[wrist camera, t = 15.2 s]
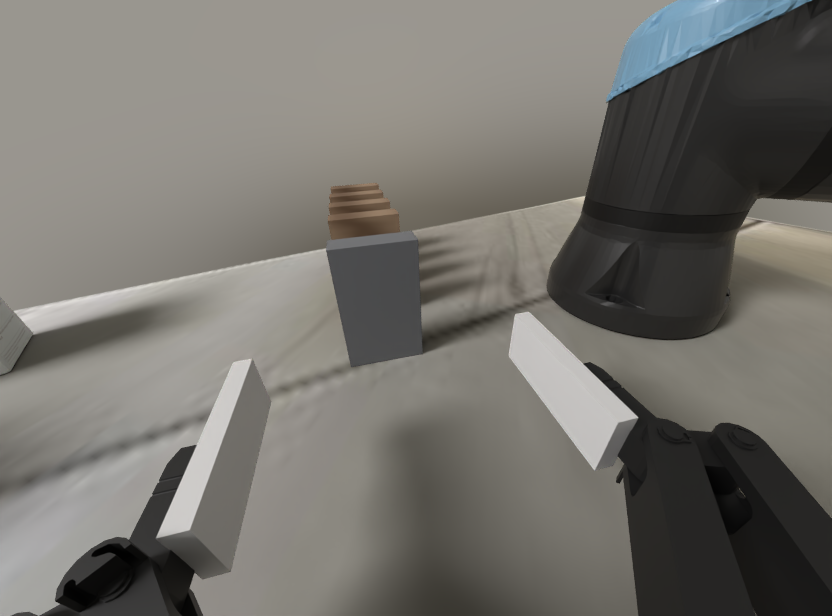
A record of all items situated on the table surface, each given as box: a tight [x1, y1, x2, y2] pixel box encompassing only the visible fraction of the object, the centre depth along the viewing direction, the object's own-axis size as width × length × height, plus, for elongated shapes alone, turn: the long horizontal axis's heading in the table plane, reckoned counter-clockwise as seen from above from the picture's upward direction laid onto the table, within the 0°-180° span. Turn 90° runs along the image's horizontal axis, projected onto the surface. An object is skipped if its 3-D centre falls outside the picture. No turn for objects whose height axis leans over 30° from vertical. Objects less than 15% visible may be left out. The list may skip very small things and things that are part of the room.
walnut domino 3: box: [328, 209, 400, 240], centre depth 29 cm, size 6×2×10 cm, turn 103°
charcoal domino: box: [326, 231, 423, 367], centre depth 23 cm, size 6×2×10 cm, turn 103°
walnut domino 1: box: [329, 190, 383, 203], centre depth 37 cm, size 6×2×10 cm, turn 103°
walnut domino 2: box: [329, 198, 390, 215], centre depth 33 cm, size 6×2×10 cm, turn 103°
